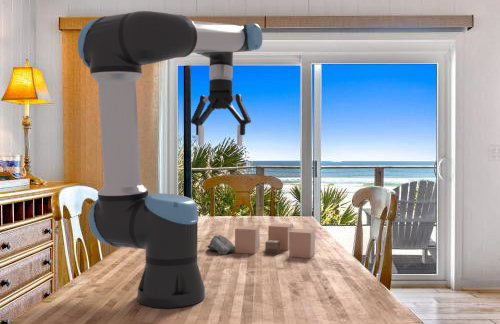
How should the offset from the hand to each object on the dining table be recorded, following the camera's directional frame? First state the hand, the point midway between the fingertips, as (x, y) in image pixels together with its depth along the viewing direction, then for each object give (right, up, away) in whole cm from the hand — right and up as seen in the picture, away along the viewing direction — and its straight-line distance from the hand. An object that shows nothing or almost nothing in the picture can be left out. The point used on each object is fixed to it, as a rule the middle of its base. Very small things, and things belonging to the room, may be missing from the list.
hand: (220, 145), depth 152 cm
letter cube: (+17, -36, +6) cm, 40 cm away
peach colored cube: (+9, -36, +8) cm, 38 cm away
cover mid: (+21, -36, +15) cm, 44 cm away
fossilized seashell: (0, -36, +8) cm, 37 cm away
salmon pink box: (+27, -36, +2) cm, 45 cm away
